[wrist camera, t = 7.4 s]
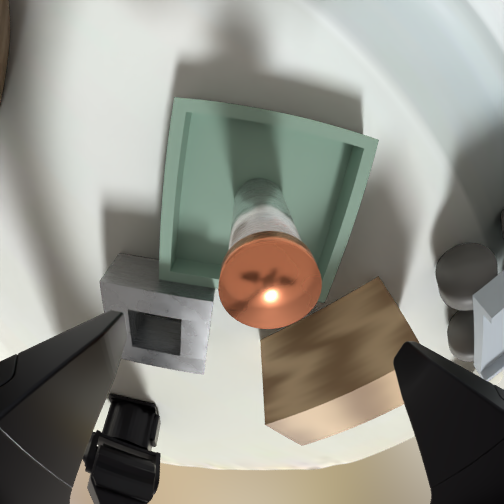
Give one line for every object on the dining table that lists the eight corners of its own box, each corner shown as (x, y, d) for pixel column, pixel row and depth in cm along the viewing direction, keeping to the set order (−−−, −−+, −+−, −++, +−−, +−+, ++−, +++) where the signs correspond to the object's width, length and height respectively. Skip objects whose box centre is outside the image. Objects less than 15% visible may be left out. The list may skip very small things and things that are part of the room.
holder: (126, 325, 25) (113, 356, 21) (119, 253, 21) (99, 281, 18) (208, 341, 26) (203, 374, 22) (218, 269, 22) (213, 301, 18)
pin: (227, 222, 19) (213, 322, 11) (236, 170, 18) (226, 235, 9) (279, 230, 20) (305, 332, 11) (291, 180, 18) (335, 252, 9)
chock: (291, 370, 28) (302, 445, 20) (260, 339, 26) (265, 424, 18) (395, 316, 25) (433, 387, 17) (378, 275, 23) (424, 352, 15)
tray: (166, 261, 22) (158, 279, 19) (183, 98, 16) (174, 97, 14) (317, 283, 23) (324, 302, 21) (363, 135, 17) (378, 139, 15)
